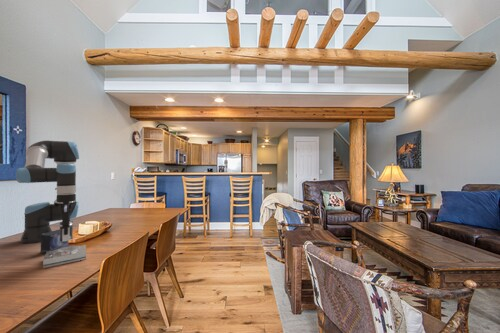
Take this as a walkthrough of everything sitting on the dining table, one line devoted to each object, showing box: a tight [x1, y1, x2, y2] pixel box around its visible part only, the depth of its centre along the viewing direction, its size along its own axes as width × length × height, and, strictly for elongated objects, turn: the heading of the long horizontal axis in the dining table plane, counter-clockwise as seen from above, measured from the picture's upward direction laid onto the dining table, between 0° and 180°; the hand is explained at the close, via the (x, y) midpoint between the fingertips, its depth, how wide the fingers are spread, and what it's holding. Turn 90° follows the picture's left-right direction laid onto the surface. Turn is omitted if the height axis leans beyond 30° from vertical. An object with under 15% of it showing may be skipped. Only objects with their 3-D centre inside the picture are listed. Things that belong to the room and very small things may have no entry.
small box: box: [39, 228, 69, 254], centre depth 123 cm, size 11×6×10 cm, turn 168°
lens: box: [59, 220, 74, 241], centre depth 111 cm, size 5×5×9 cm
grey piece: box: [42, 244, 87, 269], centre depth 111 cm, size 12×16×5 cm
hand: (66, 239), depth 111 cm, fingers closed on lens, 5 cm apart
